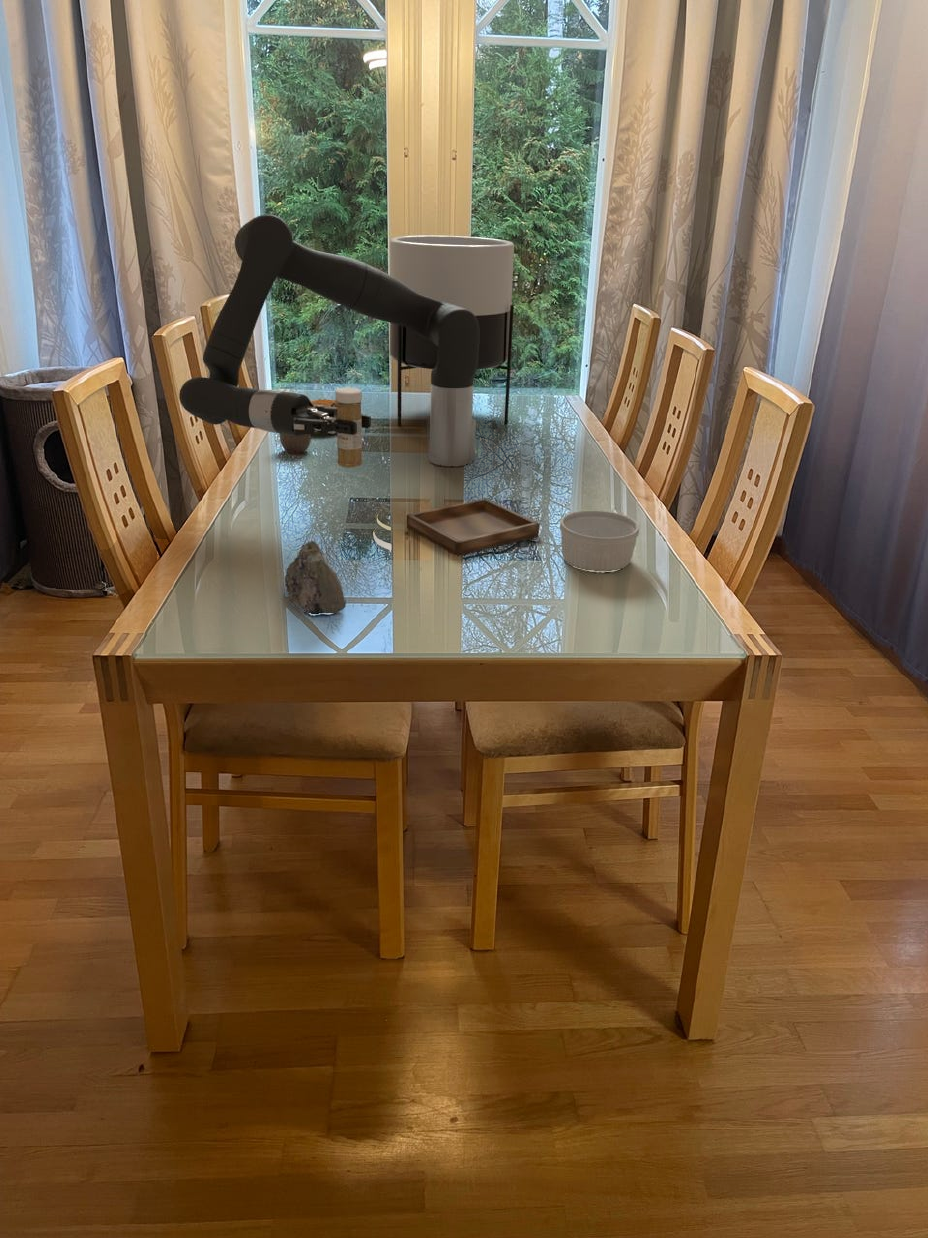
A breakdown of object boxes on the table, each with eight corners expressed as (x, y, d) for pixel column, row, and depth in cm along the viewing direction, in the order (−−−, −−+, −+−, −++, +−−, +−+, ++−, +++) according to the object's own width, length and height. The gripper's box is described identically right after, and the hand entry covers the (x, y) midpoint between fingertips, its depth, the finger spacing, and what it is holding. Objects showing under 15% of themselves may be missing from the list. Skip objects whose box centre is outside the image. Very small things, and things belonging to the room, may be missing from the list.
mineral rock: (291, 580, 146) (287, 520, 142) (358, 584, 146) (356, 524, 141) (269, 616, 135) (265, 552, 130) (342, 620, 134) (340, 556, 130)
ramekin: (615, 583, 149) (620, 543, 146) (543, 564, 155) (546, 525, 152) (646, 558, 160) (651, 520, 156) (577, 541, 166) (581, 504, 163)
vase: (305, 456, 206) (303, 417, 203) (275, 454, 208) (273, 415, 204) (315, 448, 213) (314, 410, 209) (287, 445, 214) (285, 408, 210)
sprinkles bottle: (332, 464, 166) (329, 389, 160) (350, 458, 169) (349, 385, 163) (349, 470, 163) (347, 393, 157) (368, 464, 166) (367, 389, 160)
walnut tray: (484, 510, 178) (485, 498, 177) (538, 536, 167) (539, 523, 166) (406, 527, 169) (406, 514, 168) (457, 556, 157) (458, 542, 156)
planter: (529, 416, 246) (540, 241, 226) (463, 440, 222) (469, 248, 203) (435, 398, 261) (438, 233, 242) (364, 419, 238) (361, 238, 219)
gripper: (256, 399, 160) (341, 412, 154) (301, 384, 172) (382, 395, 166) (259, 442, 163) (342, 456, 157) (303, 423, 175) (382, 436, 169)
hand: (362, 425), depth 162 cm, fingers closed on sprinkles bottle, 4 cm apart
